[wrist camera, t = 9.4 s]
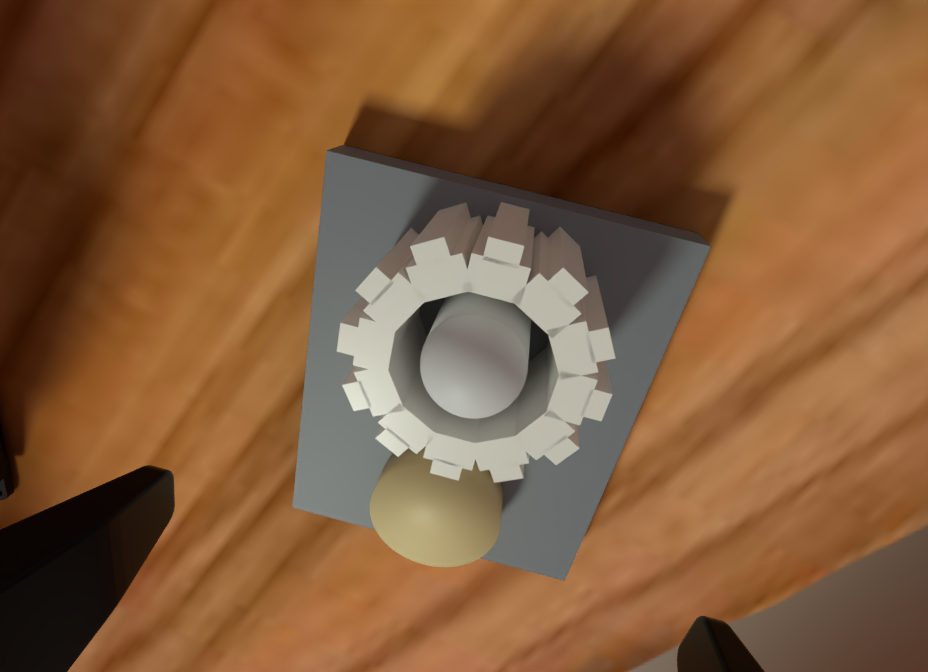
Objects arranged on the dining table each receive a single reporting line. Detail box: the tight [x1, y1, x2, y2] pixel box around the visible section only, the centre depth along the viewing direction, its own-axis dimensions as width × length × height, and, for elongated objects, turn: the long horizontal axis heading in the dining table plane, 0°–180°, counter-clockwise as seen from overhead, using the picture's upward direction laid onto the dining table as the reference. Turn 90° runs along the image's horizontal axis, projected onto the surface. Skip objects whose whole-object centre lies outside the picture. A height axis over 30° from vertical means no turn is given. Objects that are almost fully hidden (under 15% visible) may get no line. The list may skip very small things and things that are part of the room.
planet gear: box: [337, 202, 616, 483], centre depth 17 cm, size 8×8×4 cm
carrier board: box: [293, 145, 711, 581], centre depth 18 cm, size 12×15×6 cm
